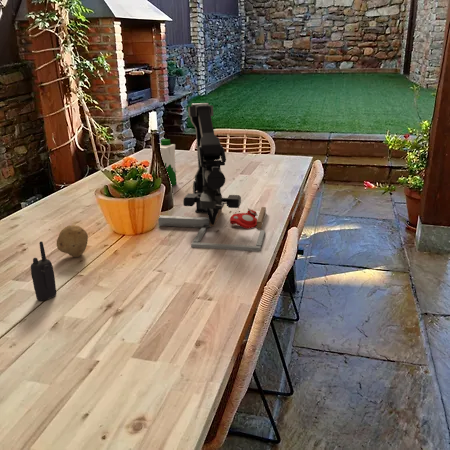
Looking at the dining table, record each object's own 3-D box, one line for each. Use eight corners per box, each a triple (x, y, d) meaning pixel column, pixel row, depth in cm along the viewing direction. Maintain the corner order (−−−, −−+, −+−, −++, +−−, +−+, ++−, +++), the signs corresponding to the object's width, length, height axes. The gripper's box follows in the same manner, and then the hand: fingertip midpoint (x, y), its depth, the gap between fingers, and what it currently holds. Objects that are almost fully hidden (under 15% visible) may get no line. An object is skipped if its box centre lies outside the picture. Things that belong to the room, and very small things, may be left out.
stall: (209, 226, 164) (209, 219, 163) (217, 211, 178) (217, 205, 177) (261, 228, 161) (261, 221, 160) (265, 213, 174) (265, 207, 174)
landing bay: (191, 247, 148) (191, 244, 147) (201, 230, 161) (201, 227, 160) (259, 251, 144) (259, 248, 143) (264, 233, 157) (264, 230, 156)
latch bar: (158, 225, 165) (158, 217, 164) (160, 223, 167) (159, 215, 165) (209, 228, 162) (208, 219, 160) (210, 225, 163) (210, 217, 162)
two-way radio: (53, 291, 123) (43, 238, 118) (62, 296, 121) (53, 242, 115) (33, 299, 119) (23, 245, 114) (43, 305, 117) (32, 249, 111)
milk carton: (179, 183, 213) (177, 139, 206) (168, 189, 206) (165, 143, 198) (163, 181, 217) (160, 138, 210) (151, 186, 210) (148, 142, 202)
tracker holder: (260, 226, 160) (231, 220, 159) (257, 236, 163) (228, 231, 162) (259, 207, 170) (231, 201, 169) (255, 217, 173) (229, 211, 172)
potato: (58, 264, 138) (53, 233, 134) (59, 252, 146) (54, 222, 142) (90, 260, 140) (86, 229, 136) (90, 248, 148) (86, 219, 144)
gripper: (177, 186, 150) (180, 232, 156) (235, 188, 147) (236, 234, 152) (186, 176, 160) (188, 220, 166) (241, 178, 157) (241, 222, 163)
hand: (213, 224), depth 161 cm, fingers closed
